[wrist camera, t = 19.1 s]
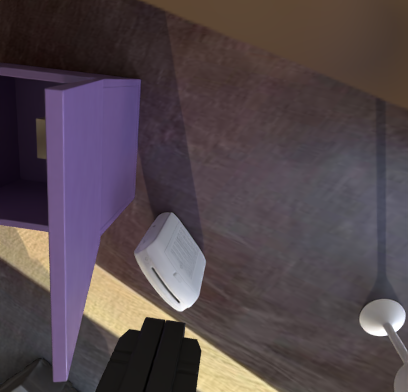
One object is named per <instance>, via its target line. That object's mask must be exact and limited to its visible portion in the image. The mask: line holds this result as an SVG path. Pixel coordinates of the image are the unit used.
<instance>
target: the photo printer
mask: <svg viewBox="0 0 408 392" xmlns="http://www.w3.org/2000/svg"><path fill="white" fill-rule="evenodd" d="M134 254H135V257H136V260H137V262H138V264H139V266H140V268H141V269H142V271H143V273H144V274H145V276H146V277H147V279H148V280H149V282H150V283H151V285H152V286H153V287H154V289H155V290H156V291H157V292H158V293H159V295H160V296H161V297H162V298H163V299H164V300H165V301H166V302H167V303H168V304H169V305H170V306H171V307H173V308H174V309H176V310H177V311H183V310H184V309H186V308H189V307H191V306H192V305H193V304H194V302H195V301H196V300H197V298H198V297H199V293H200V288H201V283H202V278H203V273H204V269H205V264H206V260H205V257H204V255H203V253H202V252H201V250H200V248H199V247H198V245H197V244H196V243H195V241H194V240H193V238H192V237H191V235H190V234H189V232H188V231H187V230H186V228H185V227H184V226H183V224H182V223H181V221H180V220H179V219H178V218H177V216H176V215H175V214H174V213H172V212H170V213H169V212H165V213H162V214H160V215H159V216H158V217H157V218H156V219H155V221H154V222H153V223H152V225H151V226H150V228H149V229H148V231H147V232H146V234H145V235H144V237H143V238H142V240H141V242H140V243H139V245H138V246H137V248H136V249H135V251H134Z"/></svg>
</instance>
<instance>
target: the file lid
mask: <svg viewBox="0 0 408 392" xmlns="http://www.w3.org/2000/svg"><path fill="white" fill-rule="evenodd" d="M44 91H45V126H46V160H47V195H48V229H49V263H50V298H51V332H52V367H53V382H61V381H67V379H68V375H69V371H70V366H71V362H72V358H73V354H74V349H75V345H76V341H77V337H78V332H79V328H80V324H81V320H82V315H83V311H84V307H85V303H86V299H87V294H88V290H89V286H90V282H91V277H92V273H93V269H94V265H95V260H96V256H97V252H98V248H99V243H100V221H101V174H102V127H103V79H98V78H94V79H89V80H84V81H79V82H74V83H69V84H64V85H59V86H54V87H49V88H45V89H44Z"/></svg>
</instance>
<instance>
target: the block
mask: <svg viewBox="0 0 408 392" xmlns="http://www.w3.org/2000/svg"><path fill="white" fill-rule="evenodd" d="M36 132H37V158H41V159H46V126H45V117H41V118H36Z"/></svg>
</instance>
